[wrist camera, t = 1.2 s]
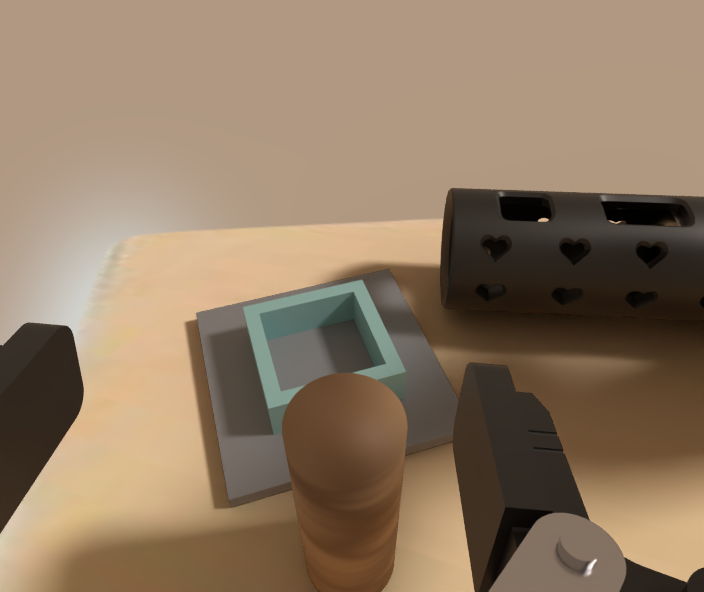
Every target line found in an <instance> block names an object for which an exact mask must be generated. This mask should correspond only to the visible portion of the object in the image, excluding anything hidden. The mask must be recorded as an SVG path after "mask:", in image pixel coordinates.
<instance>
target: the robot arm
mask: <svg viewBox="0 0 704 592" xmlns="http://www.w3.org/2000/svg"><path fill="white" fill-rule="evenodd" d="M83 394H84V388H83V382H82V377H81V371H80V366H79V361H78V356H77V351H76V346H75V341H74V336H73V333H72V331H71V329H70V328H69V327H68V326H62V325H51V324H40V323H26V324H24V325H23V326H21V327H20V328H19V330H17V332H16V333H15V334H14V335H13V336H12V337H11V338H10V339H9V340H8V341H7V342H6V343H5V344H4V345H3V346H2V345H0V533H1V532H2V530H3V529H4V527H5V526H6V524H7V523H8V521H9V520H10V518H11V517H12V515H13V513H14V512H15V510H16V509H17V507H18V506H19V504H20V503H21V501H22V500H23V498H24V497H25V495H26V494H27V492H28V491H29V489H30V488H31V486H32V485H33V483H34V482H35V480H36V478H37V477H38V475H39V474H40V472H41V471H42V469H43V468H44V466H45V465H46V463H47V462H48V460H49V459H50V457H51V456H52V454H53V453H54V451H55V450H56V448H57V447H58V445H59V443H60V442H61V440H62V439H63V437H64V436H65V434H66V433H67V431H68V430H69V428H70V427H71V425H72V424H73V422H74V421H75V419H76V418H77V416H78V414H79V412H80V409H81V406H82V401H83ZM556 434H557V432H556V429H555V426H554V424H553V421H552V418H551V416H550V413H549V411H548V410H547V409H546V408H545V407H544V406H543V405H542V404H541V403H540V401H539V400H538V399H537V398H536V397H535V396H534V395H533V394H532V393H524V392H516V391H515V387H514V384H513V381H512V378H511V375H510V372H509V369H508V367H507V366H504V365H493V364H482V363H469V364H468V365H467V368H466V371H465V375H464V380H463V384H462V389H461V393H460V398H459V402H458V407H457V411H456V416H455V420H454V428H453V451H454V458H455V464H456V471H457V477H458V484H459V491H460V497H461V504H462V511H463V517H464V524H465V530H466V537H467V544H468V550H469V557H470V563H471V570H472V577H473V583H474V590H475V592H704V568H701V569H698V570H697V571H695V572H694V573H693V574H692V575H691V577H690V578H689V580H688V581H687V582H684V581H681V580H679V579H676V578H673V577H670V576H668V575H665V574H662V573H660V572H657V571H654V570H651V569H649V568H646V567H643V566H641V565H639V564H636V563H634V562H632V561H630V560H628V559H627V558H625V557H624V556H623V553H622V551H621V550H620V548H619V546H618V545H617V543H616V542H615V541H614V539H613V538H612V537H611V536H610V535H609V534H608V533H607V532H606V531H604V530H603V529H602V528H601V527H599V526H598V525H596V524H595V523H593V522H591V521H590V520H589V517H588V515H587V512H586V509H585V507H584V504H583V501H582V499H581V496H580V493H579V491H578V488H577V485H576V483H575V480H574V477H573V475H572V472H571V469H570V467H569V464H568V461H567V459H566V456H565V454H563V448H562V445H561V442H560V440H559V437H557V435H556Z"/></svg>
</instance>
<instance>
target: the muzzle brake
mask: <svg viewBox="0 0 704 592" xmlns="http://www.w3.org/2000/svg"><path fill="white" fill-rule="evenodd" d="M541 218H547V219H549V221H548V222H538V220H539V219H541ZM608 220H611V221H614V222H618V221H621V222H620V223H618V224H615V223H611V222H610V221H608ZM440 287H441V302H442V306H443V307H444V308H445V309H464V310H469V309H477V310H495V311H506V312H526V313H558V314H568V315H588V316H621V317H635V318H650V319H671V320H702V321H704V197H693V196H665V195H663V196H662V195H636V194H603V193H577V192H548V191H519V190H491V189H462V188H452V189H450V190H449V191H448V195H447V199H446V204H445V211H444V220H443V230H442V243H441V265H440Z"/></svg>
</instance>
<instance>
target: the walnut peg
mask: <svg viewBox="0 0 704 592" xmlns="http://www.w3.org/2000/svg"><path fill="white" fill-rule="evenodd" d="M407 429H408V426H407V417H406V413H405V410H404V407H403V405H402V403H401V402H400V400H399V399H398V397H397V396H396V395H395V393H394V392H393V391H392V390H391V389H389V388H388V387H387V386H386V385H384V384H383V383H381V382H380V381H378V380H376V379H373V378H371V377H368V376H365V375H361V374H355V373H336V374H331V375H326V376H323V377H320V378H318V379H316V380H313V381H312V382H310V383H308V384H307V385H305V386H304V387H303V388H301V389H300V390H299V391H298V392H297V393H296V394H295V395H294V397H293V398H292V399H291V401H290V402H289V404H288V406H287V408H286V410H285V412H284V416H283V421H282V436H283V442H284V447H285V452H286V458H287V463H288V468H289V473H290V479H291V484H292V489H293V495H294V500H295V505H296V511H297V516H298V521H299V527H300V532H301V537H302V543H303V548H304V553H305V559H306V564H307V569H308V573H309V576H310V579H311V581H312V583H313V584H314V586H315V587H316V588H317V590H318V591H319V592H381V591H382V590H383V589H384V588H385V586H386V585H387V583H388V581H389V579H390V577H391V575H392V571H393V567H394V558H395V548H396V538H397V528H398V518H399V508H400V498H401V488H402V478H403V468H404V458H405V449H406V439H407Z"/></svg>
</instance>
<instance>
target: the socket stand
mask: <svg viewBox="0 0 704 592" xmlns="http://www.w3.org/2000/svg"><path fill="white" fill-rule="evenodd" d="M196 315H197V321H198V327H199V333H200V338H201V344H202V350H203V356H204V361H205V367H206V373H207V379H208V384H209V390H210V396H211V402H212V407H213V413H214V419H215V425H216V430H217V436H218V442H219V448H220V453H221V459H222V465H223V471H224V476H225V482H226V488H227V494H228V499H229V503H230V505H231V507H235V506H238V505H241V504H245V503H248V502H252V501H255V500H258V499H262V498H265V497H268V496H272V495H275V494H278V493H282V492H285V491H288V490H292V484H291V479H290V473H289V468H288V463H287V458H286V452H285V447H284V442H283V436H282V421H283V416H284V412H285V410H286V408H287V406H288V404H289V402H290V401H291V399H292V398H293V397H294V395H295V394H296V393H297V392H298V391H299V390H300V389H301V388H303V387H304V386H305V385H307V384H308V383H310V382H312V381H313V380H316V379H318V378H320V377H323V376H326V375H331V374H336V373H355V374H361V375H365V376H368V377H371V378H373V379H376V380H378V381H380V382H381V383H383V384H384V385H386V386H387V387H388V388H389V389H391V390H392V391H393V392H394V393H395V395H396V396H397V397H398V399H399V400H400V402H401V403H402V405H403V407H404V410H405V413H406V417H407V426H408V429H407V439H406V449H405V455H408V454H412V453H415V452H418V451H422V450H425V449H428V448H432V447H435V446H438V445H442V444H445V443H448V442H452V441H453V428H454V420H455V416H456V411H457V407H458V402H459V399H458V397H457V395H456V393H455V392H454V390H453V388H452V386H451V384H450V382H449V380H448V378H447V377H446V375H445V373H444V371H443V369H442V367H441V365H440V363H439V362H438V360H437V358H436V356H435V354H434V352H433V350H432V348H431V347H430V345H429V343H428V341H427V339H426V337H425V335H424V333H423V332H422V330H421V328H420V326H419V324H418V322H417V320H416V318H415V317H414V315H413V313H412V311H411V309H410V307H409V305H408V303H407V302H406V300H405V298H404V296H403V294H402V292H401V290H400V289H399V287H398V285H397V283H396V281H395V279H394V277H393V275H392V274H391V272H390V270H389V269H385V270H381V271H377V272H372V273H368V274H364V275H359V276H355V277H351V278H346V279H342V280H337V281H333V282H329V283H324V284H320V285H316V286H311V287H307V288H302V289H298V290H294V291H289V292H285V293H281V294H276V295H272V296H268V297H263V298H259V299H254V300H250V301H246V302H241V303H237V304H233V305H228V306H224V307H219V308H215V309H211V310H206V311H202V312H198V313H196Z"/></svg>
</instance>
